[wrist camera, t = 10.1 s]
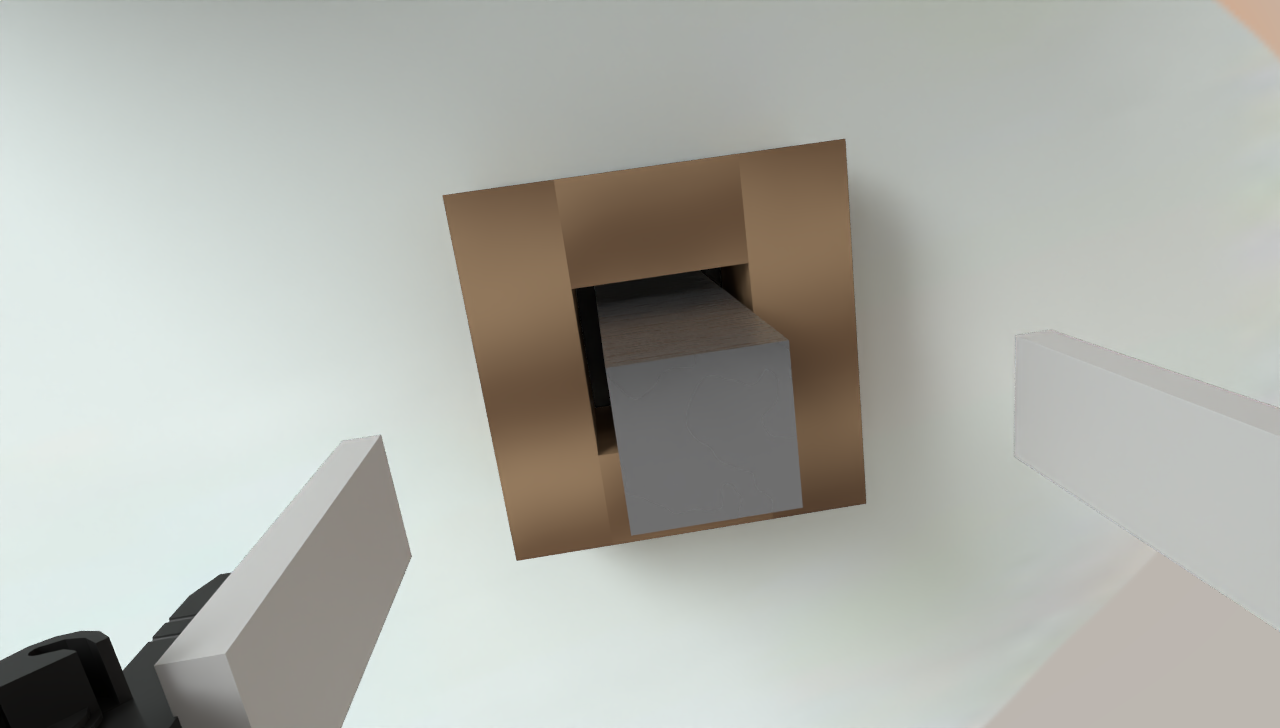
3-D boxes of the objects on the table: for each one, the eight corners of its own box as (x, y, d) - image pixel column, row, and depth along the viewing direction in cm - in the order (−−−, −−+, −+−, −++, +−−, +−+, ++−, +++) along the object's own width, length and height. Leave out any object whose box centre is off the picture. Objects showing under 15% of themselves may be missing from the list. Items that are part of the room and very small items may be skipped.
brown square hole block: (468, 191, 26) (442, 195, 21) (796, 145, 26) (845, 138, 21) (526, 496, 29) (516, 560, 24) (818, 449, 29) (866, 503, 24)
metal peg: (594, 285, 27) (605, 368, 15) (699, 270, 27) (788, 340, 15) (609, 386, 28) (631, 535, 16) (710, 371, 28) (802, 507, 16)
